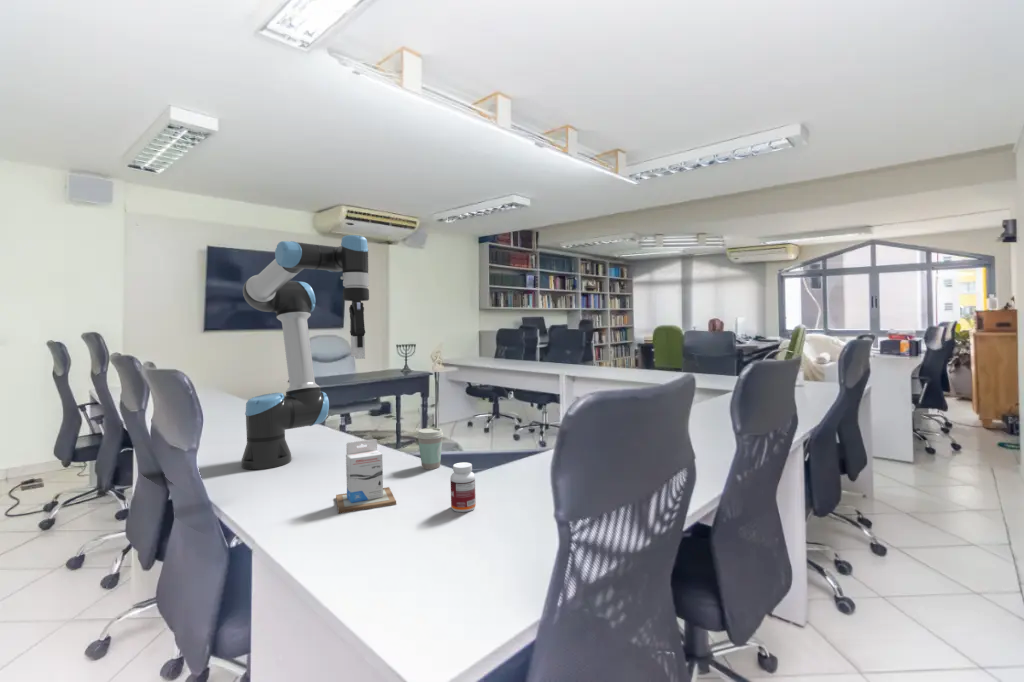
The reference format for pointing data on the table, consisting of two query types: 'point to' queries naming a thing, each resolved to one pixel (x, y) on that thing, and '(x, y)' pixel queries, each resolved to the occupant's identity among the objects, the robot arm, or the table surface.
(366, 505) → the board
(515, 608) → the table surface
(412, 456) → the table surface
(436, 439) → the coffee cup
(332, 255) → the robot arm
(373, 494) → the ink box
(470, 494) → the pill bottle
